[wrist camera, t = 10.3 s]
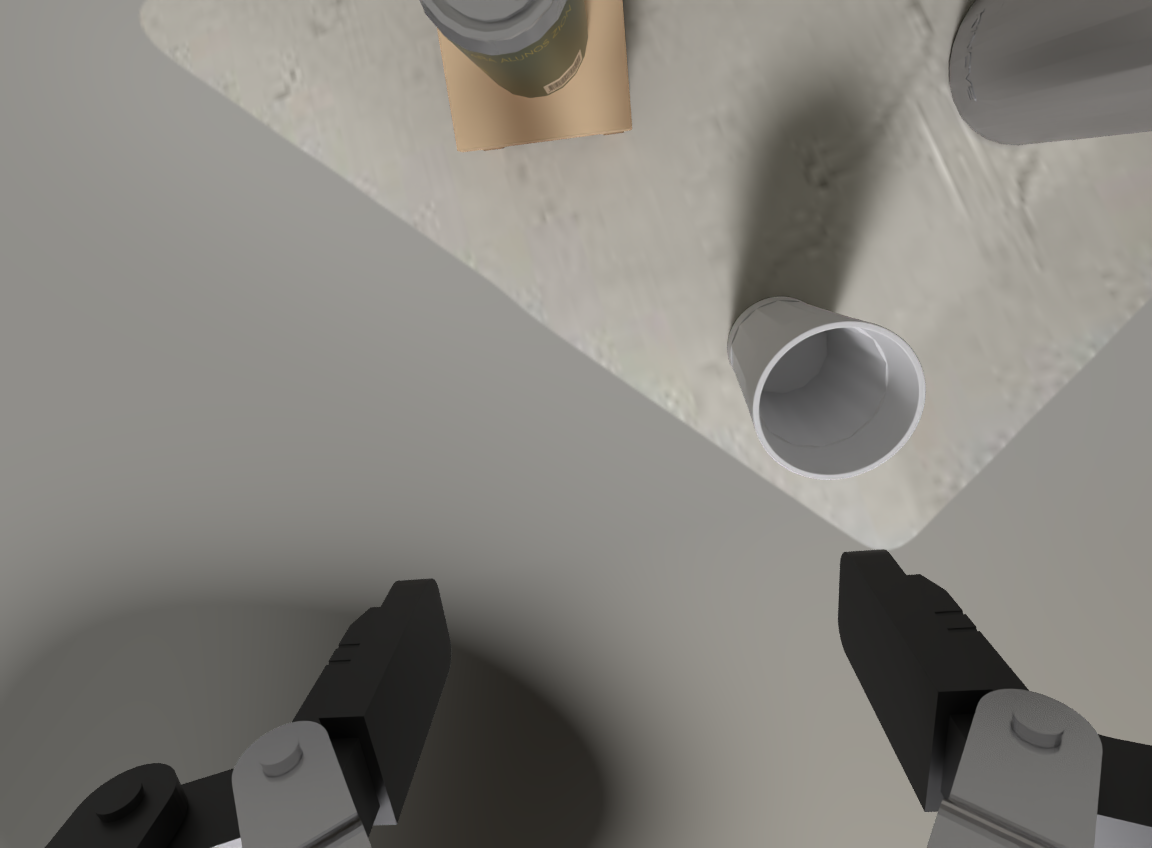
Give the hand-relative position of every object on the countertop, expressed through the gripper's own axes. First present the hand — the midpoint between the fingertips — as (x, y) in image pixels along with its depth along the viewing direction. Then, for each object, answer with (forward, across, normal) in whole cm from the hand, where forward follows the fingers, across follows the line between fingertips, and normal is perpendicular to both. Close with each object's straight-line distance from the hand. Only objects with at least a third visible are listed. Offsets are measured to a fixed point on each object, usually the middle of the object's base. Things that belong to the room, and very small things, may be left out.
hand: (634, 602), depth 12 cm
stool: (+30, +3, -15) cm, 34 cm away
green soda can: (+24, +3, -15) cm, 29 cm away
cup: (+30, -10, +3) cm, 32 cm away
